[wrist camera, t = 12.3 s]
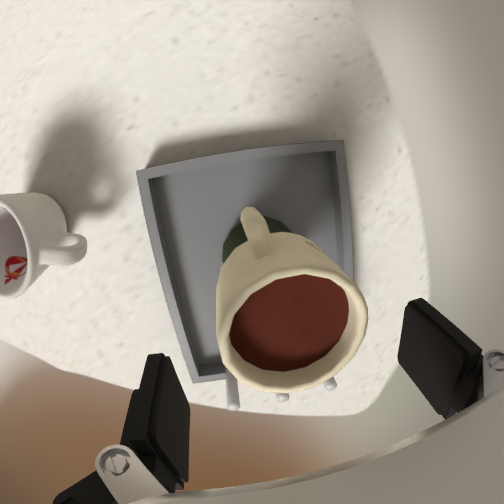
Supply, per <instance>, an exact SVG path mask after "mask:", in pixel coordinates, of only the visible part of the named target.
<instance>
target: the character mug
mask: <svg viewBox="0 0 504 504" xmlns="http://www.w3.org/2000/svg"><path fill="white" fill-rule="evenodd" d="M240 220H241V224H239V225H238V226H236V227H235V228H233V229H232V230H231V232H230V234H229V235H228V237H227V238H226V240H225V242H224V243H223V253H222V262H223V265H222V266H221V270H220V274H219V278H218V282H217V287H216V335H217V341H218V346H219V350H220V354H221V358H222V362H223V364H224V365H225V366H226V368H227V369H228V370H229V371H230V372H231V373H232V374H233V375H234V376H235V377H236V378H237V380H238V381H239V382H242V383H244V384H246V385H248V386H251V387H253V388H255V389H258V390H260V391H263V392H275V393H292V392H296V391H301V390H305V389H310V388H314V387H315V386H317V385H319V384H321V383H322V382H324V381H326V380H328V379H329V378H331V377H333V376H334V375H336V374H337V373H338V372H339V371H340V370H341V369H342V368H343V367H344V366H345V365H346V364H347V363H348V362H349V361H350V360H351V359H352V358H353V357H354V356H355V354H356V352H357V350H358V348H359V347H360V345H361V343H362V341H363V339H364V337H365V334H366V329H367V324H368V308H367V305H366V301H365V298H364V297H363V295H362V293H361V292H360V290H359V289H358V287H357V286H356V284H355V283H354V282H353V281H352V280H351V279H350V278H349V277H348V276H347V275H346V274H345V273H344V272H343V270H342V269H341V268H340V266H339V265H337V264H336V263H335V262H334V261H333V260H331V259H330V258H329V257H328V256H327V255H325V254H324V253H323V252H322V250H321V249H320V248H319V247H318V246H316V245H315V244H314V243H313V242H312V241H311V240H309V239H307V238H305V237H303V236H301V235H297V234H294V233H292V231H290V230H289V229H288V228H287V227H286V226H285V225H284V224H283V223H282V222H281V221H278V220H275V219H272V218H269V217H266V216H262V215H261V214H260V212H259V211H257V210H256V209H255V208H254V207H246V208H245V209H244V210H243V211H242V212H241V219H240Z"/></svg>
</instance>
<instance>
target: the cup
mask: <svg viewBox="0 0 504 504" xmlns="http://www.w3.org/2000/svg"><path fill="white" fill-rule="evenodd" d="M86 252H87V240H86V238H85V237H83V236H82V235H79V234H75V233H69V232H67V224H66V219H65V216H64V213H63V211H62V209H61V207H60V206H59V205H58V203H57V202H56V201H55V200H54V199H53V198H51V197H50V196H48V195H46V194H42V193H35V192H32V193H17V194H4V195H0V297H2V298H7V299H11V298H16V297H18V296H20V295H22V294H23V293H24V292H25V291H26V290H27V289H28V288H29V287H30V286H31V285H32V284H33V283H34V281H35V280H36V279H37V278H38V277H39V276H40V275H41V274H42V273H43V272H44V271H45V270H46V269H47V268H48V267H49V266H50V265H53V266H69V265H73V264H75V263H77V262H79V261H80V260H81V259H82V258H84V256H85V254H86Z"/></svg>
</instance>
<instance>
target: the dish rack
mask: <svg viewBox="0 0 504 504" xmlns="http://www.w3.org/2000/svg"><path fill="white" fill-rule="evenodd" d="M136 174H137V180H138V185H139V190H140V195H141V200H142V205H143V210H144V215H145V220H146V224H147V229H148V233H149V237H150V242H151V246H152V250H153V254H154V258H155V262H156V266H157V270H158V274H159V277H160V281H161V285H162V288H163V292H164V295H165V299H166V302H167V306H168V309H169V313H170V316H171V319H172V323H173V326H174V329H175V332H176V335H177V338H178V342H179V345H180V348H181V351H182V354H183V357H184V359H185V362H186V365H187V368H188V371H189V374H190V377H191V379H192V382H193V383H201V382H209V381H216V380H223V379H226V393H227V407H228V409H229V410H233V411H234V410H238V409H239V408H240V402H239V393H238V384H237V378H236V377H235V376H234V375H233V374H232V373H231V372H230V371H229V370H228V369H227V368H226V366H225V365H224V364H223V362H222V358H221V354H220V350H219V346H218V341H217V335H216V287H217V282H218V278H219V274H220V270H221V266H222V265H223V262H222V253H223V243H224V242H225V240H226V238H227V237H228V235H229V234H230V232H231V230H232V229H233V228H235V227H236V226H238V225H239V224H241V220H240V219H241V212H242V211H243V210H244V209H245V208H246V207H254V208H255V209H256V210H257V211H259V212H260V214H261V215H262V216H266V217H269V218H272V219H275V220H278V221H281V222H282V223H283V224H284V225H285V226H286V227H287V228H288V229H289V230H290V231H292V233H294V234H297V235H301V236H303V237H305V238H307V239H309V240H311V241H312V242H313V243H314V244H315V245H316V246H318V247H319V248H320V249H321V250H322V252H323V253H324V254H325V255H327V256H328V257H329V258H330V259H331V260H333V261H334V262H335V263H336V264H337V265H339V266H340V268H341V269H342V270H343V272H344V273H345V274H346V275H347V276H348V277H349V278H350V279H351V280H352V281H353V254H352V231H351V214H350V200H349V188H348V177H347V167H346V158H345V150H344V142H343V140H335V141H321V142H309V143H299V144H289V145H280V146H271V147H263V148H256V149H249V150H242V151H235V152H229V153H222V154H216V155H211V156H205V157H199V158H194V159H189V160H184V161H179V162H174V163H169V164H164V165H160V166H155V167H151V168H146V169H142V170H138V171H136ZM323 385H324V387H325V389H326V390H327V391H331V390H333V389H335V388H336V386H337V383H336V381H335V379H334V378H333V377H331V378H329V379H328V380H326V381H324V382H323ZM276 397H277V400H278V401H279V402H285V401H287V400H288V399H289V393H276Z"/></svg>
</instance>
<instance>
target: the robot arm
mask: <svg viewBox="0 0 504 504" xmlns="http://www.w3.org/2000/svg"><path fill="white" fill-rule="evenodd" d="M481 352H482V349H481V348H480V347H479V346H478V345H477V344H476V343H474V342H473V341H472V340H471V339H470V338H469V337H468V336H467V335H465V334H464V333H463V332H462V331H461V330H460V329H459V328H457V327H456V326H455V325H454V324H453V323H452V322H450V321H449V320H448V319H447V318H446V317H444V316H443V315H442V314H441V313H440V312H439V311H437V310H436V309H435V308H434V307H433V306H431V305H430V304H429V303H428V302H427V301H425V300H424V299H423V298H418V299H415V300H412V301H410V302H408V305H407V306H406V307H405V311H404V318H403V326H402V332H401V339H400V345H399V350H398V362H399V364H400V365H401V366H402V367H403V369H404V370H405V371H406V373H407V374H408V375H409V377H410V378H411V379H412V380H413V382H414V383H415V384H416V386H417V387H418V388H419V390H420V391H421V392H422V394H423V395H424V396H425V398H426V399H427V400H428V401H429V403H430V404H431V406H432V407H433V408H434V410H435V411H436V412H437V413H438V414H439V415H442V416H443V417H444V419H445V420H444V421H442V422H440V423H438V424H436V425H435V426H433V427H431V428H429V429H427V430H425V431H422V432H420V433H418V434H416V435H414V436H412V437H410V438H407V439H405V440H403V441H401V442H398V443H396V444H394V445H391V446H389V447H387V448H384V449H381V450H379V451H377V452H374V453H371V454H368V455H365V456H363V457H360V458H357V459H354V460H351V461H348V462H345V463H342V464H338V465H336V466H332V467H328V468H325V469H321V470H318V471H313V472H310V473H306V474H301V475H297V476H293V477H288V478H283V479H278V480H273V481H268V482H262V483H256V484H249V485H242V486H235V487H228V488H218V489H208V490H207V489H206V490H197V491H185V492H177V493H175V490H183V489H184V482H188V475H189V474H188V470H189V429H190V428H189V427H190V406H189V403H188V401H187V398H186V396H185V393H184V391H183V389H182V386H181V384H180V381H179V379H178V377H177V374H176V372H175V369H174V366H173V364H172V361H171V359H170V357H169V356H166V357H165V355H164V354H163V353H159V354H149V355H148V357H147V360H146V364H145V368H144V371H143V375H142V379H141V383H140V387H139V389H135V390H134V391H133V393H132V396H131V400H130V404H129V408H128V412H127V416H126V420H125V424H124V428H123V433H122V437H121V442H120V445H111V446H109V447H106V448H104V449H103V450H102V451H100V453H99V454H98V456H97V458H96V460H95V468H96V471H95V472H93V473H91V474H90V475H88V476H87V477H85V478H84V479H82V480H81V481H79V482H77V483H76V484H74V485H73V486H71V487H69V488H68V489H66V490H65V491H63V492H61V493H60V494H58V495H57V496H56V497H55V499H54V501H53V504H504V351H502V350H498V349H497V350H496V349H495V350H490V351H488V352H487V353H485V355H484V356H483V355H482V354H481ZM456 412H457V414H455V413H456Z"/></svg>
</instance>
